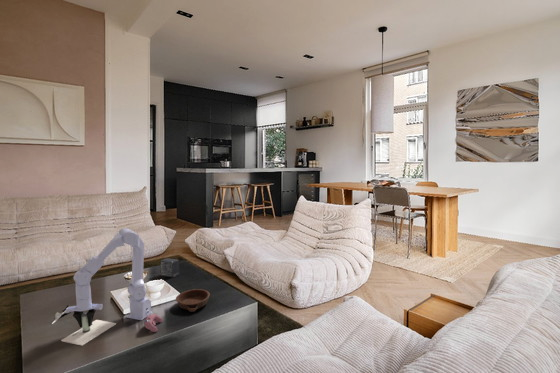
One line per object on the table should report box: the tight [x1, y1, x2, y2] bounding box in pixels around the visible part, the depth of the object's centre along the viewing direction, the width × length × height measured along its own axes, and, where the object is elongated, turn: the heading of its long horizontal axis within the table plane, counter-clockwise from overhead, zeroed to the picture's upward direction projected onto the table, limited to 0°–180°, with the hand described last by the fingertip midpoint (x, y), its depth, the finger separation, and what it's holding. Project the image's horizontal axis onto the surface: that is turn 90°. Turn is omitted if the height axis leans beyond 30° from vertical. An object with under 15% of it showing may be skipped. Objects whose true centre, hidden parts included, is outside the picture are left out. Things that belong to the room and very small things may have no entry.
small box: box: [159, 257, 180, 279], centre depth 211 cm, size 11×6×10 cm, turn 66°
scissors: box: [51, 305, 72, 325], centre depth 161 cm, size 8×21×2 cm, turn 10°
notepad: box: [60, 319, 117, 347], centre depth 144 cm, size 12×18×1 cm, turn 162°
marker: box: [81, 311, 90, 333], centre depth 144 cm, size 3×3×8 cm
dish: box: [175, 288, 211, 313], centre depth 169 cm, size 17×22×5 cm
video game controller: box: [144, 312, 164, 333], centre depth 147 cm, size 10×5×7 cm, turn 6°
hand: (86, 325), depth 144 cm, fingers closed on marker, 3 cm apart
